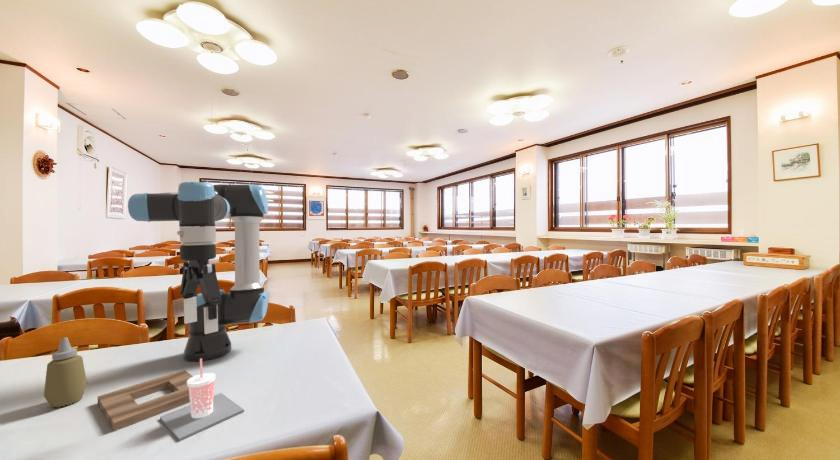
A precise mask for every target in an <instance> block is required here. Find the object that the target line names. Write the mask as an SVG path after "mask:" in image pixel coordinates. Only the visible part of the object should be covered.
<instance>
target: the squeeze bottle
mask: <svg viewBox="0 0 840 460" xmlns="http://www.w3.org/2000/svg"><path fill="white" fill-rule="evenodd" d="M51 359H52V360H51V361H49V362H48V363H47V364H46V373H45V382H44V390H43V391H44V392H43V397H44V398H45V400H46V402H47V403H48V405H49V406H50V407H51V408H52V407H57V408H62V407H61V406H63V407H66V406H65V405H67V406H70V405H73V404H75V403H77V402H79V401H80V400H82V399H83V396H84V394H85V390H86V388H87V385H88V381H87V376H86V371H85V365H84V359H83V356H81V355H78V348H76V347H72V345H71V343H70V341H69V338H68V337H62V338H60V341H59V345H58V349H57V351H54V352H52V354H51ZM72 403H73V404H72ZM69 404H70V405H69Z"/></svg>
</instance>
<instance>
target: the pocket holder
mask: <svg viewBox="0 0 840 460" xmlns="http://www.w3.org/2000/svg"><path fill="white" fill-rule="evenodd" d="M193 376H194V375H193V374H191V373H190V372H188V371H187V370H185V369H181V370H177V371H175V372H171V373H168V374H166V375H161V376H159V377H155V378H152V379H149V380H146V381H142V382H139V383H136V384H134V385H129V386H126V387H124V388H121V389H117V390H114V391H111V392H108V393H104V394H101V395H97V405H98V407H99V406H100V407H99V408H100V410H101V412H102V411H103V412H102V414H103V415H104V416H106V417H105V419H106V420H107V422H108V421H109V422H108V424H109V423H110V424H109V425H110V427H111V426H112V427H111V429H112V428H113V429H112V430H113V432H116V431H118V430H117V429H119V430H121V429H123V427H124V428H126V427H129V426H132V425H133V424H136V423H139V422H142V421H144V420H147V419H150V418H152V417H154V416H158V415H160V414H163V413H165V412H168V411H170V410H174V409H175V408H178V407H180V406H183V405H186V404H188V403H189V404H190V398H189V388H188V386H187V380H188V379H190V378H191V377H193ZM166 389H170V391H172V392H169V393H168V394H164V395H161V396H159V397H156V398H154V399H153V398H152V399H149V400H147V401H145V402H142V403H139V404H138V403H137V402H136V401H135V400H136V399H139V398H142V397H146V396H149V395H151V394H154V393H157V392H160V391H163V390H166ZM120 428H121V429H120ZM115 430H116V431H115Z"/></svg>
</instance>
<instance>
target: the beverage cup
mask: <svg viewBox="0 0 840 460" xmlns="http://www.w3.org/2000/svg"><path fill="white" fill-rule="evenodd" d="M216 375H217V374H216V373H214V372H204V373H203V361H202V358H201V359H200V361H199V374H196V375H192V376H193V377H191V378H190V379H188V380H187V386H188V388H189V398H190V402H189V405H190V407H191V417H192V418H202V417H205V416H207V415H209V414H211V413H212V412H213V398H214V395H215V394H214V393H215V381H216Z"/></svg>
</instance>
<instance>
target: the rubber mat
mask: <svg viewBox="0 0 840 460" xmlns="http://www.w3.org/2000/svg"><path fill="white" fill-rule="evenodd" d="M244 412H245V409H244V408H242V407H241V406H240V405H239V404H237V403H236V402H234V401H233V400H231V399H230V398H229V397H227V395H225V394H223V393H221V392H220V393H217V394H214V398H213V412H212V413H211V414H209V415H207V416H205V417H202V418H192V417H191V407H190V404H189V405H186V406H184V407H181V408H178V409H175V410H173V411H171V412H169V413H167V414H164V415H162V416H159V420H160V421H161V422H162V424H164V426H165V427H166V428H167V429H168V430H169V432H171V434H172V435H174V437H175V438H176V439H177V441H179V442H181V441H184V440H186V439H188V438H190V437H192V436H194V435H197V434H200V433H201V432H203V431H205V430H207V429H209V428H212V427H213V426H215V425H218V424H220V423H223V422H224V421H227V420H229V419H231V418H233V417H235V416H238V415H240V414H242V413H244Z"/></svg>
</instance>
